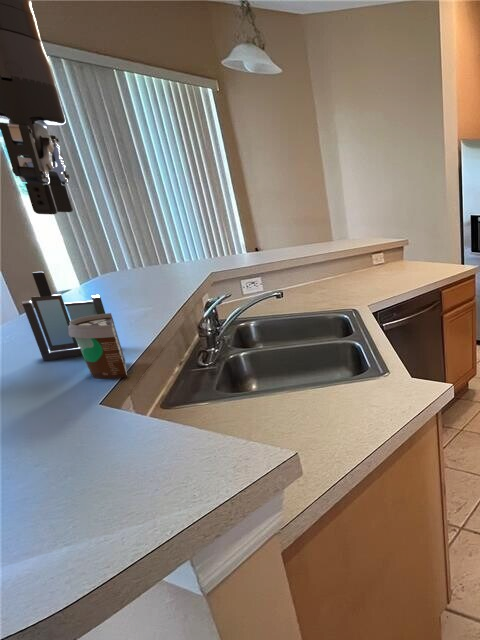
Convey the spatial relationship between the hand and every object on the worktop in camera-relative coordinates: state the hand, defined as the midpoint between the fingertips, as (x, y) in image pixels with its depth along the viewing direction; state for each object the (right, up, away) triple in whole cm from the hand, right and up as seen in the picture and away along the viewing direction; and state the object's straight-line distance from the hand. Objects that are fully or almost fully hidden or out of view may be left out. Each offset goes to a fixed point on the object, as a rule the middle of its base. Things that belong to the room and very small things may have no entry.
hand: (55, 213), depth 63 cm
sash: (-27, -17, +28) cm, 42 cm away
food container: (-12, -22, +20) cm, 32 cm away
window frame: (-26, -18, +30) cm, 43 cm away
